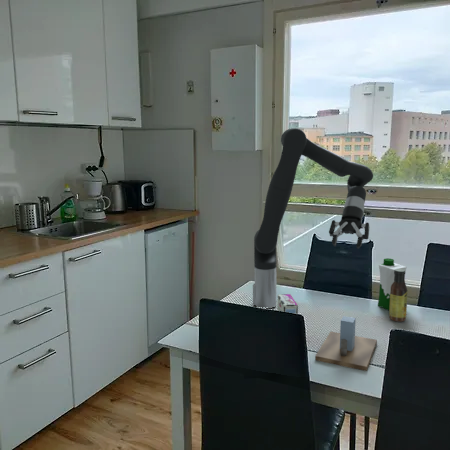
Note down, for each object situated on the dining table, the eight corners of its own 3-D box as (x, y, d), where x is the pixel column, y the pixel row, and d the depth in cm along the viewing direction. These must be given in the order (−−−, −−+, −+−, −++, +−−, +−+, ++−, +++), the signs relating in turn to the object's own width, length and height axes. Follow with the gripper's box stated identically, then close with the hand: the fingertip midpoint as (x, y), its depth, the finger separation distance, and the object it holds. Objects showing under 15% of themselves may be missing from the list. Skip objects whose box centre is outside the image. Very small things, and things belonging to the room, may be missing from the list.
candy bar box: (297, 351, 148) (298, 305, 145) (283, 352, 148) (283, 305, 144) (290, 336, 159) (290, 293, 156) (276, 337, 158) (276, 293, 155)
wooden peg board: (315, 360, 142) (315, 341, 140) (330, 335, 159) (330, 318, 158) (366, 371, 135) (367, 351, 133) (376, 343, 152) (377, 326, 151)
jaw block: (339, 348, 146) (340, 320, 144) (342, 343, 149) (343, 316, 147) (352, 351, 144) (353, 322, 142) (354, 346, 147) (355, 318, 146)
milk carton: (389, 301, 190) (391, 256, 186) (406, 308, 182) (409, 262, 178) (374, 305, 186) (376, 259, 182) (391, 312, 178) (394, 265, 174)
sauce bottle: (407, 323, 168) (410, 273, 164) (390, 322, 169) (393, 272, 166) (404, 316, 174) (407, 268, 171) (387, 315, 176) (390, 267, 172)
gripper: (333, 204, 171) (325, 239, 163) (371, 205, 164) (364, 242, 156) (336, 215, 176) (328, 249, 168) (373, 217, 170) (366, 253, 162)
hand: (345, 246), depth 162 cm, fingers open, 8 cm apart
